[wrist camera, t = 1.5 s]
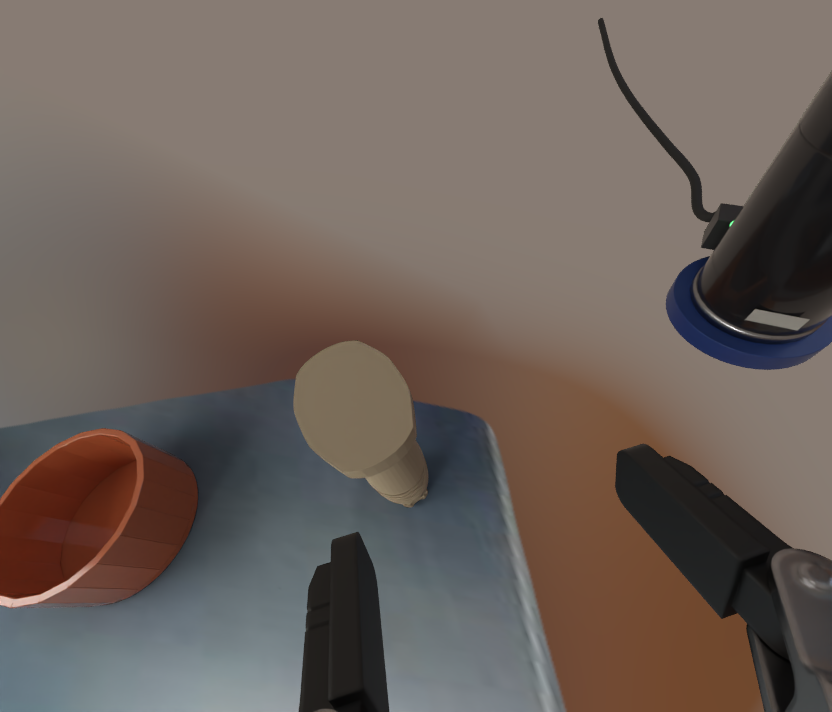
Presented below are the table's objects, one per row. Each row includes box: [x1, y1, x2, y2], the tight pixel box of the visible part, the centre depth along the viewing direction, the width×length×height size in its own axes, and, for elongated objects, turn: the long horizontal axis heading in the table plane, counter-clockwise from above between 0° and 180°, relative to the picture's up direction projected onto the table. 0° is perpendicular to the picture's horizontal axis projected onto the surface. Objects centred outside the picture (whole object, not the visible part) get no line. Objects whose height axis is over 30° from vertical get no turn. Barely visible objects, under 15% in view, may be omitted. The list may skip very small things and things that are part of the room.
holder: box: [0, 428, 198, 608], centre depth 28 cm, size 11×11×6 cm
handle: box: [294, 341, 428, 507], centre depth 22 cm, size 5×6×15 cm
